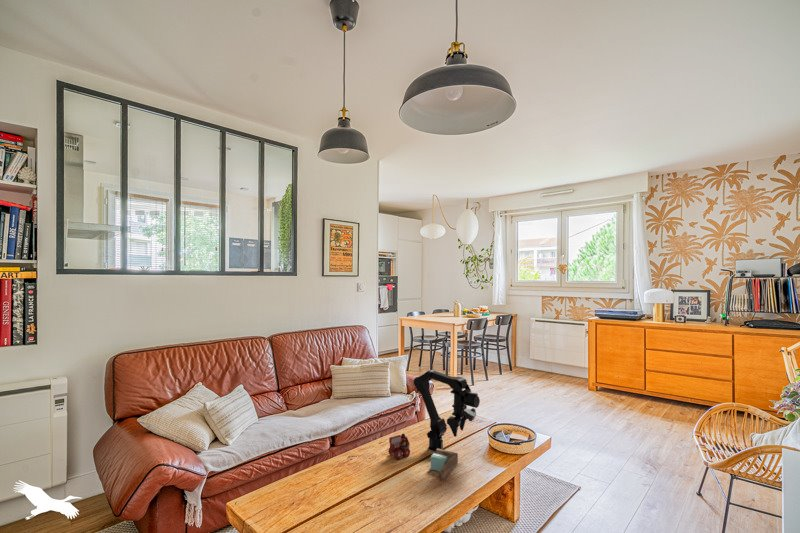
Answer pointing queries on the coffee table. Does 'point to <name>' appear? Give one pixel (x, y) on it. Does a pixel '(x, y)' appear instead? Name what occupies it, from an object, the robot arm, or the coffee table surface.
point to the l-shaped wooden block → (450, 464)
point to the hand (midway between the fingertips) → (458, 433)
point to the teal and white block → (438, 461)
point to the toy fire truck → (399, 446)
